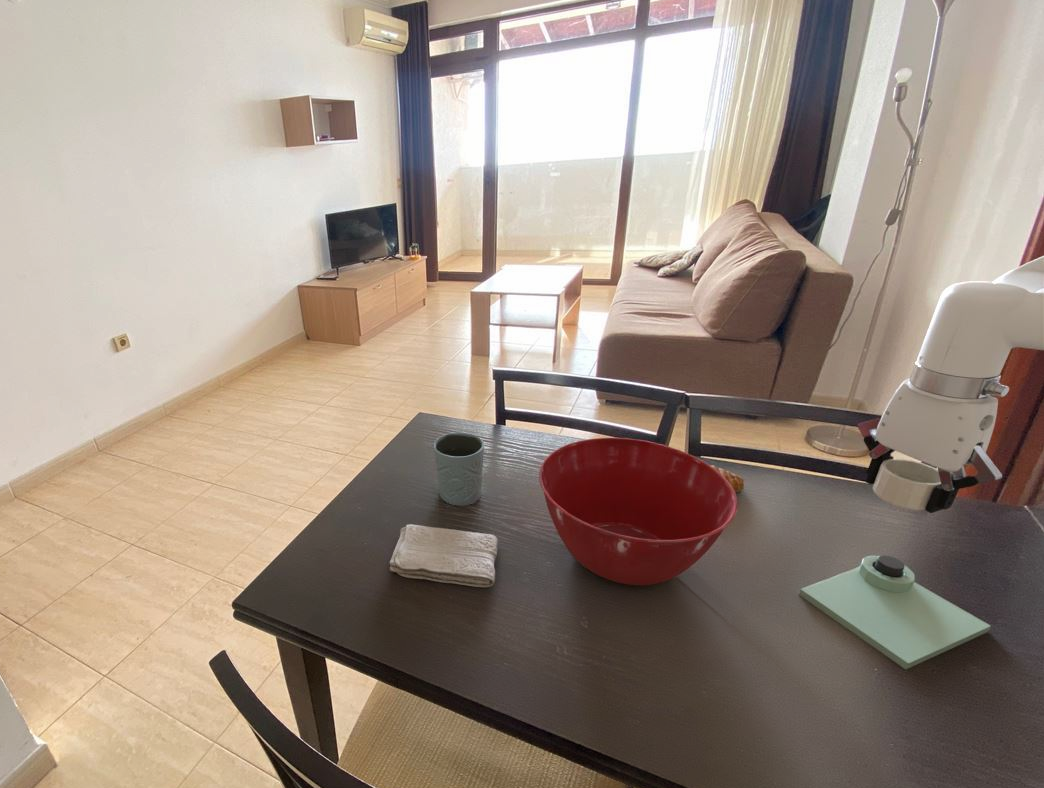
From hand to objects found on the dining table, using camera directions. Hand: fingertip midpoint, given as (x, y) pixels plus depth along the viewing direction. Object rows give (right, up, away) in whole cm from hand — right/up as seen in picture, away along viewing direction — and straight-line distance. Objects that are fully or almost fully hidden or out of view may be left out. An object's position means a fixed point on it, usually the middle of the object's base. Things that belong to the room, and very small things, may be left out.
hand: (904, 494), depth 77 cm
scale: (-2, -17, +1) cm, 17 cm away
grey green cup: (-58, -6, +36) cm, 69 cm away
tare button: (+2, -12, +4) cm, 13 cm away
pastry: (-8, -4, +31) cm, 33 cm away
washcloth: (-64, -15, +18) cm, 68 cm away
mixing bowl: (-34, -13, +15) cm, 39 cm away
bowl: (0, -1, 0) cm, 1 cm away
